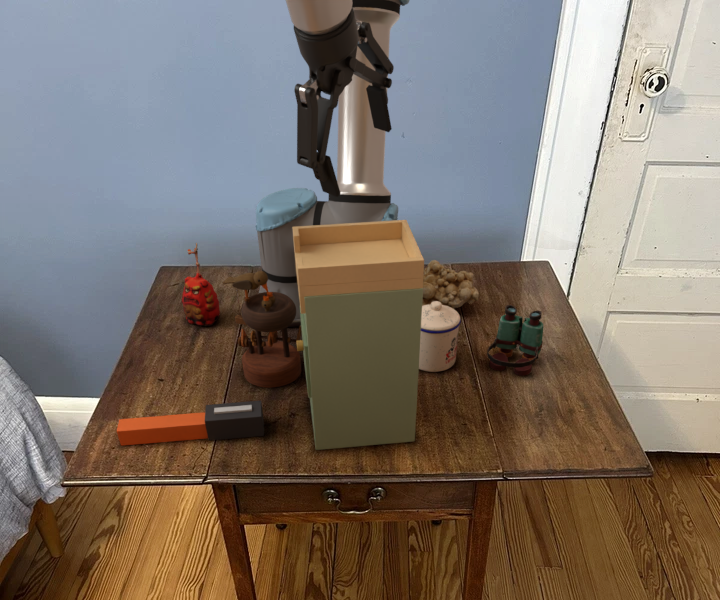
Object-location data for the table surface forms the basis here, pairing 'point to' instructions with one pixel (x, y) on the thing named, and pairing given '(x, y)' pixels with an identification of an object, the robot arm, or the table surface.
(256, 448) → the table surface
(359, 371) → the drawer stand
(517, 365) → the binoculars
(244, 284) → the music box
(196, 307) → the red clay folk toy
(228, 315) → the table surface
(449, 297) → the mineral formation
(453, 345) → the teacup with lid
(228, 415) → the bar
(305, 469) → the table surface
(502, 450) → the table surface
